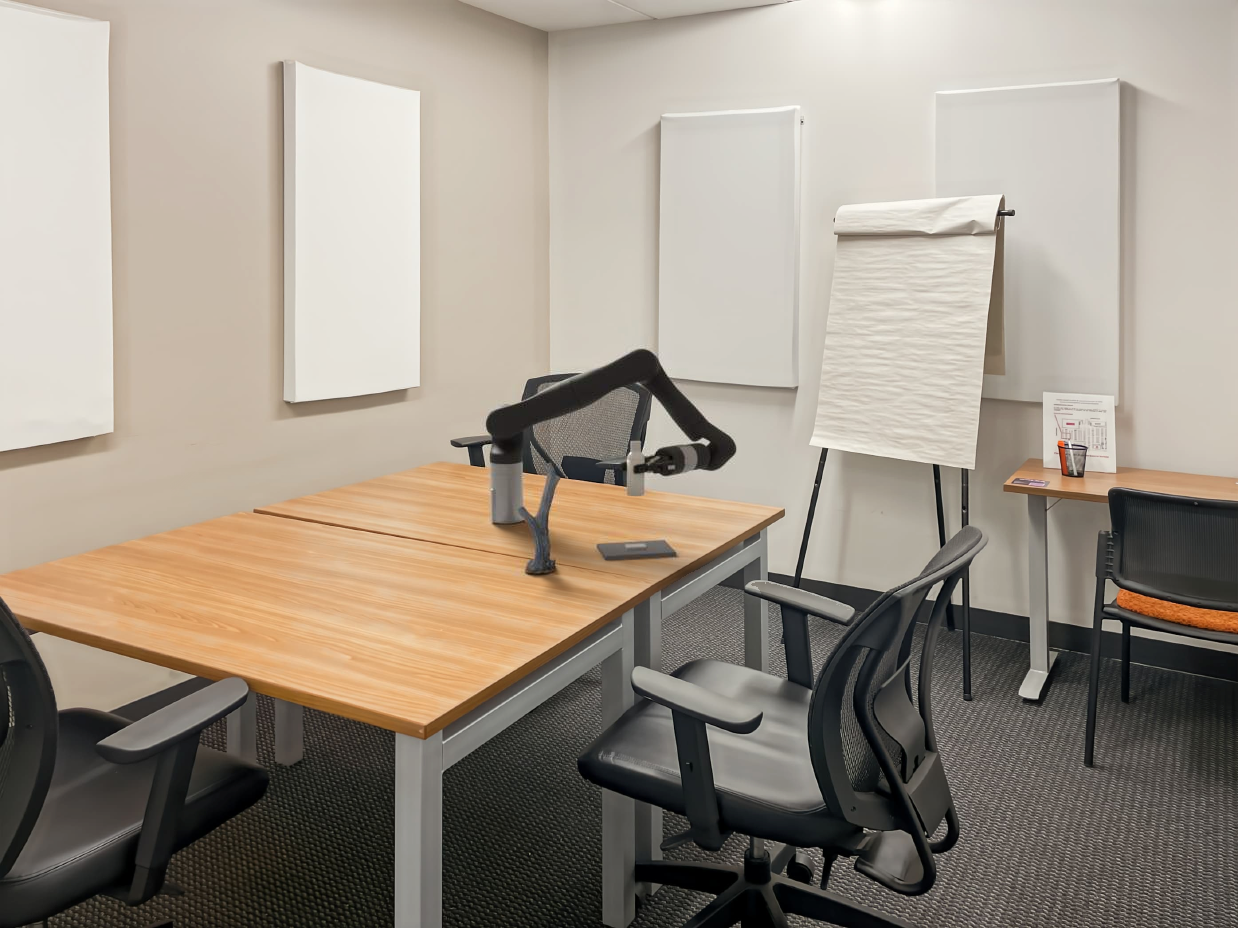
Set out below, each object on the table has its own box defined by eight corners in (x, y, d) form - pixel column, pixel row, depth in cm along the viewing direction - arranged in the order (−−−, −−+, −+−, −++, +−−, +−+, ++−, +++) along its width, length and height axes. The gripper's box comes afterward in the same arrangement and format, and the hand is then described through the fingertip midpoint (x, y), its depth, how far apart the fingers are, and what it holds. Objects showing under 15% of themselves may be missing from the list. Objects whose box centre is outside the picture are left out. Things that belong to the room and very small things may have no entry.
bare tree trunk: (544, 577, 224) (542, 471, 220) (515, 572, 228) (513, 468, 223) (568, 564, 234) (567, 463, 230) (540, 560, 238) (539, 460, 233)
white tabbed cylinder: (629, 496, 240) (628, 443, 238) (625, 492, 245) (625, 440, 242) (646, 495, 241) (646, 442, 239) (642, 492, 245) (642, 439, 243)
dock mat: (605, 560, 238) (605, 553, 238) (596, 547, 250) (596, 541, 249) (676, 555, 242) (676, 549, 241) (664, 543, 253) (664, 537, 253)
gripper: (656, 442, 256) (608, 449, 244) (696, 449, 245) (647, 457, 234) (656, 470, 257) (608, 479, 246) (695, 478, 247) (647, 487, 235)
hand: (627, 468), depth 240 cm, fingers closed on white tabbed cylinder, 4 cm apart
